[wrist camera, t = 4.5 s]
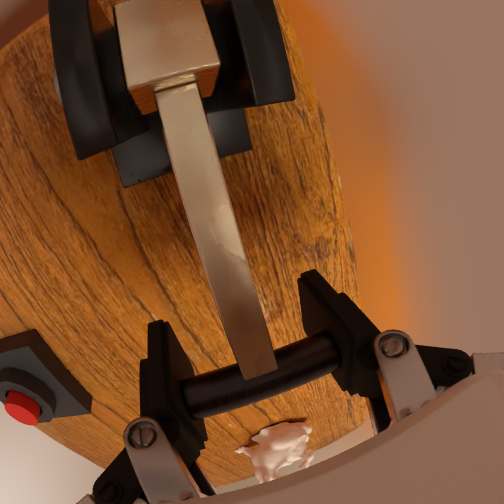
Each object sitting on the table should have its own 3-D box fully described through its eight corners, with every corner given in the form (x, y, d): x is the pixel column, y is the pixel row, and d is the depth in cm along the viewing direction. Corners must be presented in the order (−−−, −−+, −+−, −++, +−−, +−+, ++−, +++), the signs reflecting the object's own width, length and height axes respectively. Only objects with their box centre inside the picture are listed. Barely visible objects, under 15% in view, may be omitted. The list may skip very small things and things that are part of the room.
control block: (31, 405, 22) (26, 432, 18) (-23, 346, 17) (-35, 373, 13) (92, 397, 23) (89, 428, 20) (35, 328, 18) (22, 361, 15)
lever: (320, 348, 10) (350, 383, 8) (194, 392, 9) (199, 439, 7) (235, 19, 7) (251, -22, 5) (85, 59, 6) (60, 25, 4)
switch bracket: (247, 147, 17) (361, 197, 7) (126, 184, 16) (71, 289, 6) (215, 7, 13) (288, -104, 2) (89, 42, 11) (1, -38, 1)
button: (25, 412, 18) (22, 425, 16) (2, 390, 16) (-2, 404, 14) (47, 410, 18) (44, 425, 17) (23, 387, 16) (19, 402, 15)
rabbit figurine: (236, 452, 36) (253, 504, 27) (218, 436, 32) (236, 498, 24) (308, 425, 37) (334, 474, 29) (302, 405, 33) (332, 463, 25)
